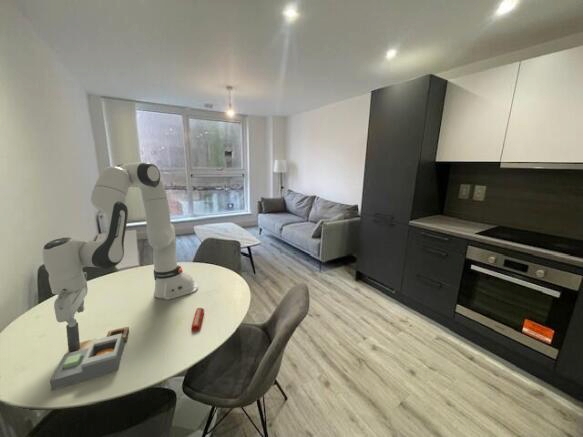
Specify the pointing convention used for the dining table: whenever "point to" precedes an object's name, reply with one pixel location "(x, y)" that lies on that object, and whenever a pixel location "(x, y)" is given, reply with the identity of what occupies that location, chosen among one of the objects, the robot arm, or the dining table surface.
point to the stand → (118, 331)
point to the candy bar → (197, 319)
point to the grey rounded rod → (73, 338)
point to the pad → (83, 345)
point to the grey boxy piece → (90, 362)
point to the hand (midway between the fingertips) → (77, 318)
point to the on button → (73, 361)
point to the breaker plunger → (105, 351)
